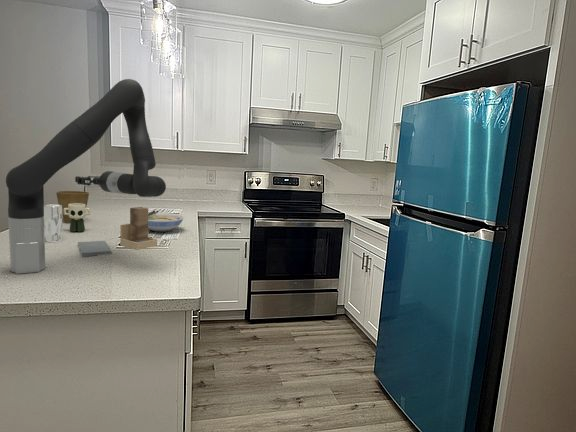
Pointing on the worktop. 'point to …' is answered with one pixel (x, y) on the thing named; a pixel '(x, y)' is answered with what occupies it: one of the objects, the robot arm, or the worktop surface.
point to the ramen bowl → (163, 221)
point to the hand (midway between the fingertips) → (87, 179)
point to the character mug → (77, 216)
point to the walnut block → (138, 224)
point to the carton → (130, 244)
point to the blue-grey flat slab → (93, 248)
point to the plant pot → (71, 200)
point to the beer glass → (53, 222)
